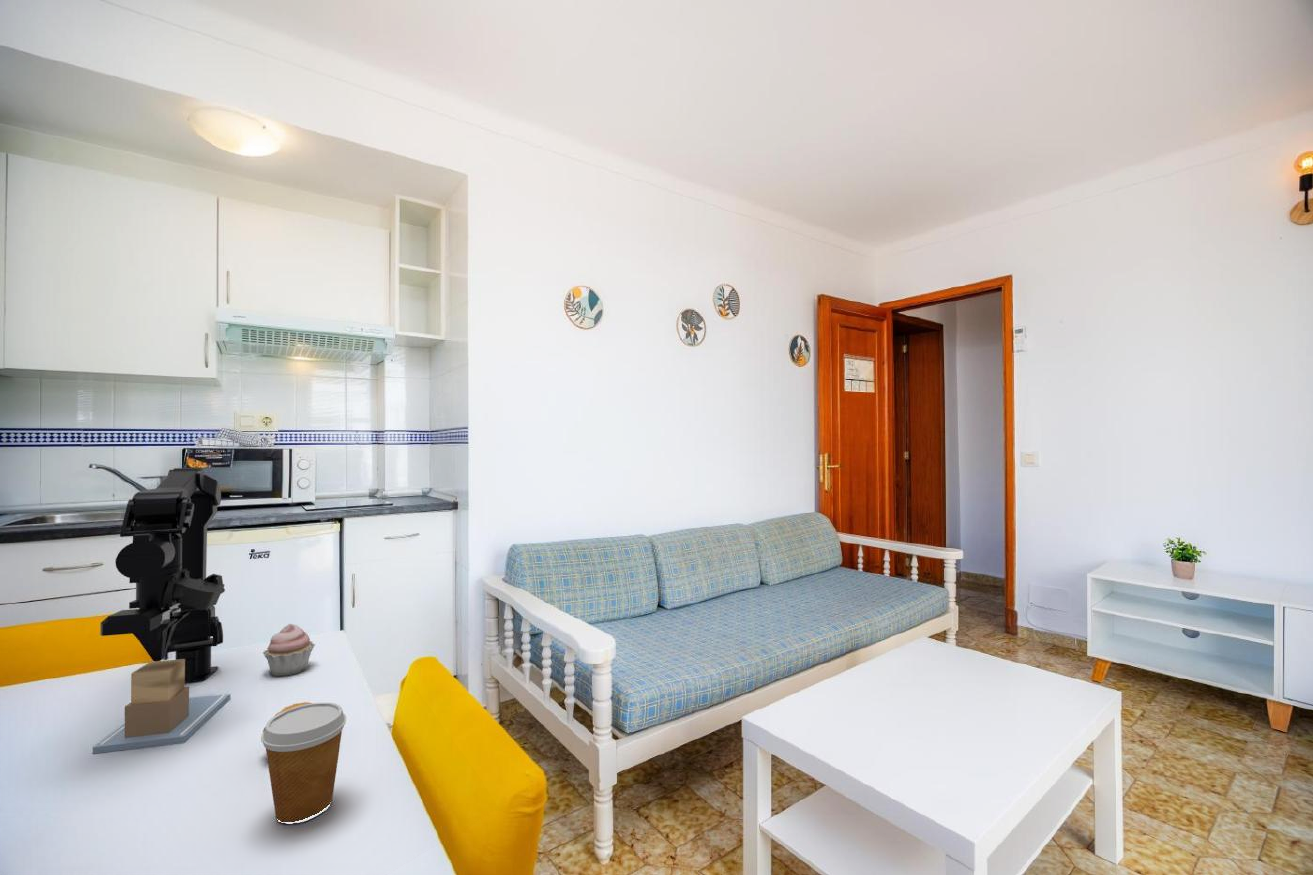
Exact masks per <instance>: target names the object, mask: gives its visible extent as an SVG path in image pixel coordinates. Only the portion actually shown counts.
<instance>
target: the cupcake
mask: <svg viewBox="0 0 1313 875" xmlns="http://www.w3.org/2000/svg"><path fill="white" fill-rule="evenodd" d="M315 646H316V643H313V641H311V638H310V636H309V635H308V633H307V632H305V630H303V629H302V628H301V627H300V626H299V625H297V624H293V623H288V624H287V625H285V626H284V627H283V628H282V629H281V630H280V631H279V632H278V633H276V634H275V633H274V634H273V635H272V636H271V638H270V642H269V644H268V646H267V647H266V650H263V652H262V653H263V655H264V657H265V659H266V660H267V663H268V666H269V667H268V668H269V671H270V674H271V675H272V676H275V677H285V676H286V677H287V676H291V675H295V674H299V673H301V672H303V671H304V670H306V669H305V668H307V667H308V664H309V661H310V657H311V655H312V654H311V653H312V651H313V650H314V648H315Z"/></svg>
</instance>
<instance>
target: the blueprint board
mask: <svg viewBox="0 0 1313 875" xmlns="http://www.w3.org/2000/svg"><path fill="white" fill-rule="evenodd" d="M230 700H231V693H224V694H214V695H205V696H196V697H190V686H185V688H184V689H183V690H181V691H180V692H179V693H178V694H176V695H175V696H174V697H172V698H171V699H170V700H169V701H162V702H152V703H143V704H133V705H131V702H129V703H128V704H126V705H124V723H123V724H122V725H120V726H119V727H118V728H116V729H115V730H114V731H112V732H111V733H110V734H108V735H107V736H106V737H104V738H103V739H102V740H101V741H99V742H98V743H96V744H95V745H94V746H92V754H93V755H95V754H102V753H111V752H118V751H119V752H120V751H126V750H135V749H142V748H150V747H151V748H152V747H159V746H168V745H176V744H182V743H186V742H187V741H188V740H190V738H191V737H192V736H194V734H196V732H197V731H199V730H200V728H202V727H203V726H204V725H205V724H206V723H207V722H208V721H209V720H210V719H211V718H212V717H213V716H214V715H215V714H216V713H217V712H218V711H220V709H221V708H223V707H224V706H225V704H227V703H228V702H229V701H230Z"/></svg>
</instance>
